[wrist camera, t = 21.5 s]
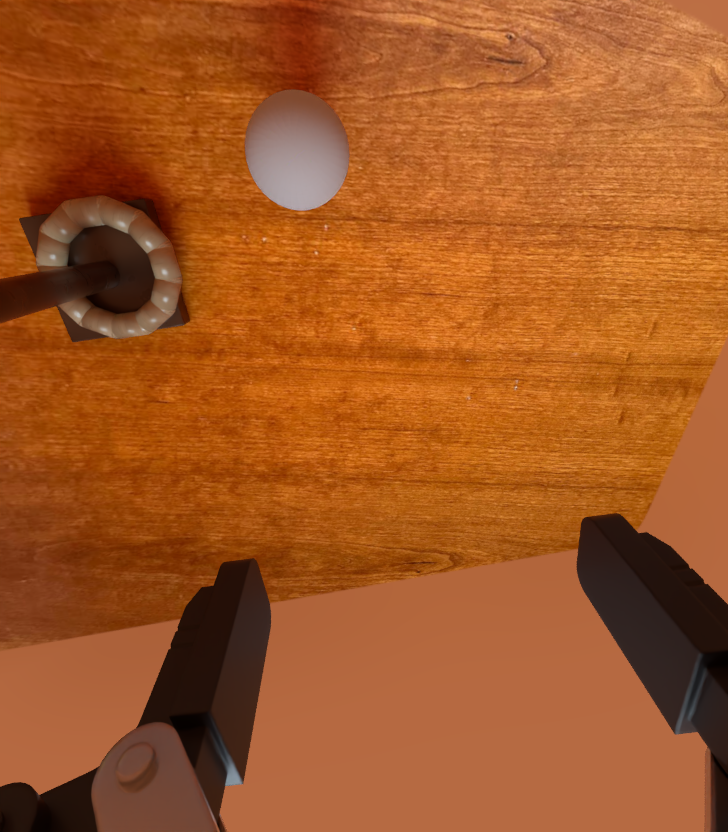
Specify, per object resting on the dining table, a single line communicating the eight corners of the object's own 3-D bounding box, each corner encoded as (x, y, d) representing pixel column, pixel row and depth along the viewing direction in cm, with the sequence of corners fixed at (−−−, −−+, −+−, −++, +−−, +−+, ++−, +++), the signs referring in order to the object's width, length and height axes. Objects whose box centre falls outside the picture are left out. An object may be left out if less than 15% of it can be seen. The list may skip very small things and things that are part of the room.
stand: (31, 218, 32) (-187, 218, 19) (152, 199, 32) (19, 186, 18) (82, 337, 35) (-70, 408, 22) (190, 321, 35) (102, 382, 22)
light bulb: (363, 157, 31) (373, 132, 22) (317, 229, 33) (309, 233, 24) (294, 97, 30) (273, 43, 20) (249, 176, 31) (212, 158, 22)
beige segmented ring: (23, 208, 30) (5, 207, 28) (159, 188, 30) (148, 186, 28) (79, 342, 34) (66, 348, 32) (199, 324, 34) (192, 329, 32)
